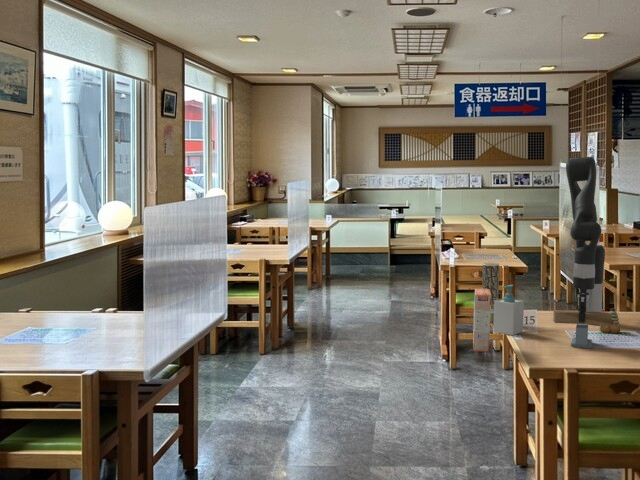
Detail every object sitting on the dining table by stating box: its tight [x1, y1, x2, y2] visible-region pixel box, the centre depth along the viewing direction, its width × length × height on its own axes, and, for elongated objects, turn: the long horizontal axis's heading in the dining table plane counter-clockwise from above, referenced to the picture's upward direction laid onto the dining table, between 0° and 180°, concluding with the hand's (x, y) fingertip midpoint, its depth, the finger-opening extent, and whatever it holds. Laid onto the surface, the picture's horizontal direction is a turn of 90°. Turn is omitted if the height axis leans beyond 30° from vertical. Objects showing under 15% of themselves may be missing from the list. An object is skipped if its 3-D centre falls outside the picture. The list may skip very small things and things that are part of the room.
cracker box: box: [472, 288, 491, 353], centre depth 260 cm, size 14×6×21 cm, turn 168°
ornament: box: [599, 307, 621, 334], centre depth 286 cm, size 8×6×10 cm
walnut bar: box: [552, 309, 612, 326], centre depth 265 cm, size 4×20×4 cm, turn 80°
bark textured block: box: [481, 262, 500, 323], centre depth 305 cm, size 7×7×25 cm
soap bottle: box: [493, 284, 525, 336], centre depth 285 cm, size 9×9×19 cm
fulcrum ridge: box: [570, 324, 593, 349], centre depth 266 cm, size 10×7×7 cm
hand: (582, 320), depth 265 cm, fingers closed on walnut bar, 4 cm apart
